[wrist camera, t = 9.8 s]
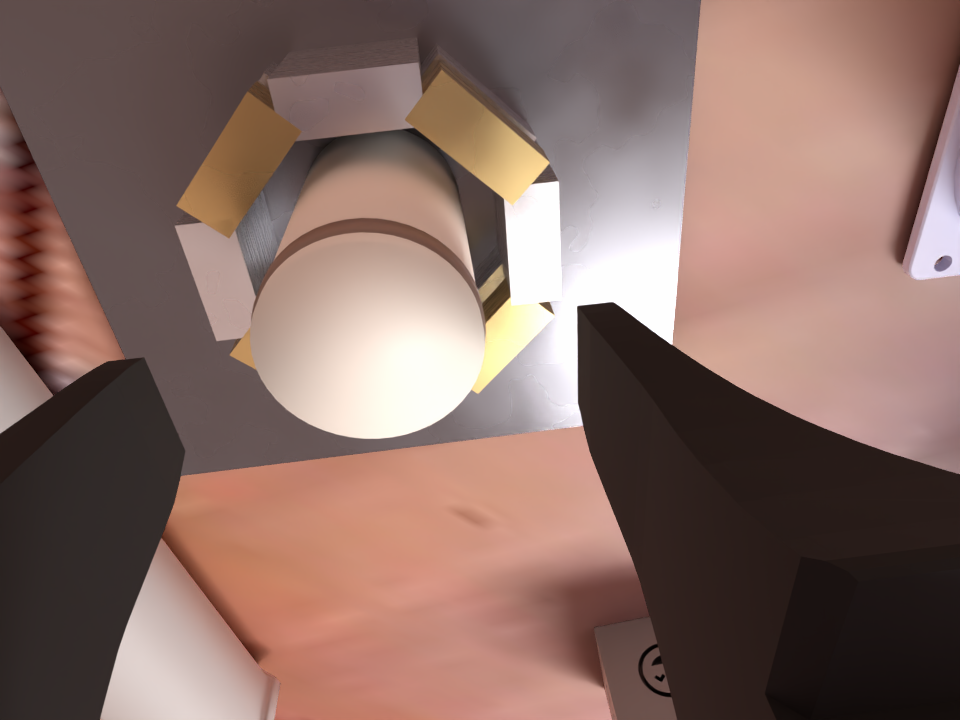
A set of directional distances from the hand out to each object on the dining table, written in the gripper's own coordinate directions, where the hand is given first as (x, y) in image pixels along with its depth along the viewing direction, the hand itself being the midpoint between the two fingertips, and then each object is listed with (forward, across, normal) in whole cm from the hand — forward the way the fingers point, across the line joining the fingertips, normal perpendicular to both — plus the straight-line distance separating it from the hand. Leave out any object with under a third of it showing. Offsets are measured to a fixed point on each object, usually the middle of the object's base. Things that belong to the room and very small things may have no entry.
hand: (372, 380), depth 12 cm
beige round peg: (+8, 0, 0) cm, 8 cm away
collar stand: (+8, 0, 0) cm, 8 cm away
